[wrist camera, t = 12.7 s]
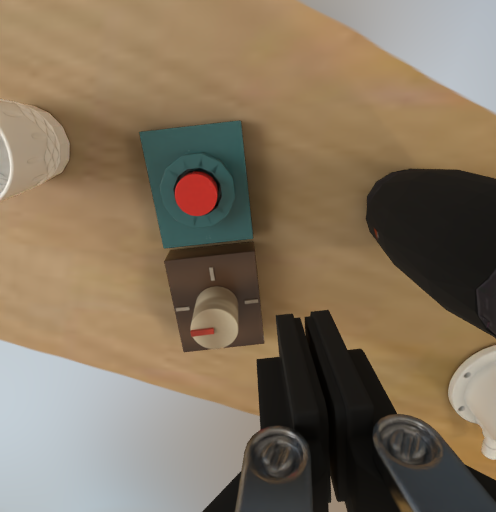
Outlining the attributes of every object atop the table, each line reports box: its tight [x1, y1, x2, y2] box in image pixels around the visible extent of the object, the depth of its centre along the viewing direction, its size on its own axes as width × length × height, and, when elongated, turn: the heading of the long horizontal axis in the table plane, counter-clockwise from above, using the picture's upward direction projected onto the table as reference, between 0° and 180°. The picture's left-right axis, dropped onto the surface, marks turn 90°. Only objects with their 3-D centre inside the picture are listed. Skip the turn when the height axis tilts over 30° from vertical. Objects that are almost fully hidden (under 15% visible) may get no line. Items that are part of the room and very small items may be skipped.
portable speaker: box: [366, 169, 496, 338], centre depth 26 cm, size 9×9×20 cm
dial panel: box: [164, 241, 264, 352], centre depth 37 cm, size 11×9×3 cm
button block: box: [139, 120, 253, 248], centre depth 32 cm, size 11×9×4 cm
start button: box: [175, 171, 218, 216], centre depth 30 cm, size 4×4×2 cm
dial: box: [191, 286, 238, 349], centre depth 33 cm, size 4×4×5 cm
